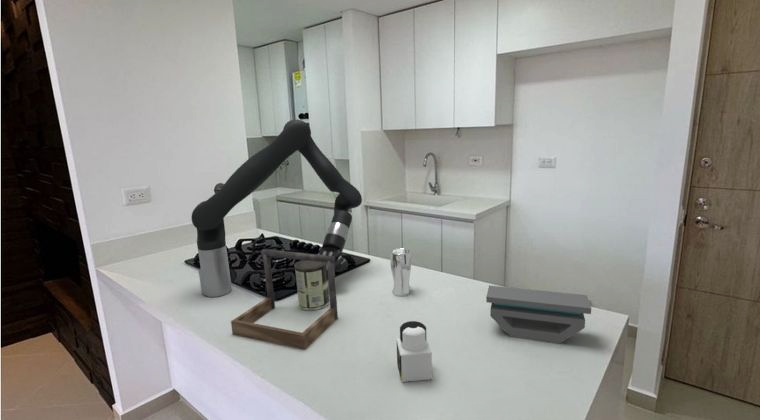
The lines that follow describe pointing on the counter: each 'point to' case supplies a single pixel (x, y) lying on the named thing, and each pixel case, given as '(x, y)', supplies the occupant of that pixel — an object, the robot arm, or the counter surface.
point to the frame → (271, 334)
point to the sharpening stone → (538, 313)
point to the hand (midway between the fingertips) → (321, 281)
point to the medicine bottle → (413, 353)
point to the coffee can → (312, 284)
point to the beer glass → (401, 271)
